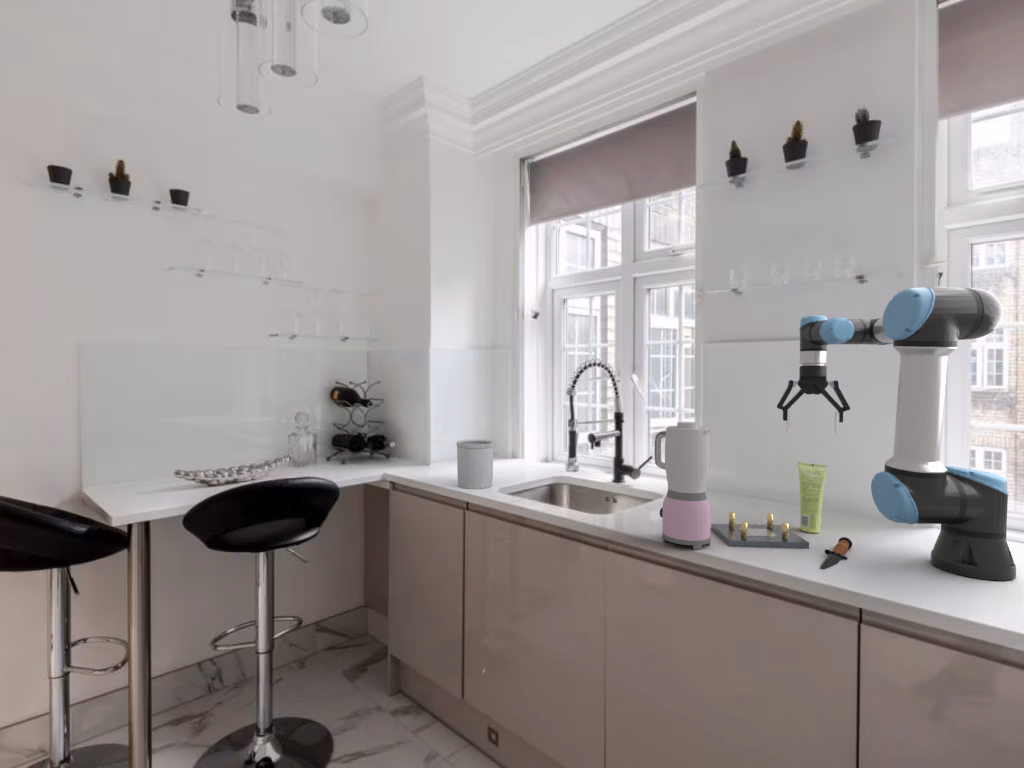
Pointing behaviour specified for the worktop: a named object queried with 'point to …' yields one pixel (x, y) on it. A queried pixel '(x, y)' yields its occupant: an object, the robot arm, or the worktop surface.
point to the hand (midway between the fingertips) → (812, 432)
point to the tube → (811, 495)
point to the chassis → (758, 534)
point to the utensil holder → (475, 463)
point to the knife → (837, 553)
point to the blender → (685, 484)
